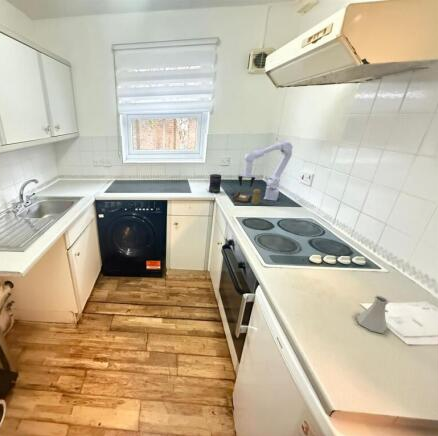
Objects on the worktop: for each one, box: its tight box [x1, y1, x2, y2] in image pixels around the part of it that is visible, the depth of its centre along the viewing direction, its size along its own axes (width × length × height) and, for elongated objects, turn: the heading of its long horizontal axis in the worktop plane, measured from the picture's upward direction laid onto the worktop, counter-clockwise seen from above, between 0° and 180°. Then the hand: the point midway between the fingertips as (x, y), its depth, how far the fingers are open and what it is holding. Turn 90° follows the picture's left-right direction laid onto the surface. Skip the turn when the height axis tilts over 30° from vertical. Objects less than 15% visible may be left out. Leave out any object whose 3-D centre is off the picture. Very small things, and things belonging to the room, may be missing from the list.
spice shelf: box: [232, 190, 252, 204], centre depth 192 cm, size 10×18×4 cm, turn 148°
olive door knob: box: [250, 188, 262, 205], centre depth 180 cm, size 6×6×11 cm
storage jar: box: [208, 173, 222, 194], centre depth 211 cm, size 10×10×15 cm
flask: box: [356, 294, 390, 334], centre depth 73 cm, size 7×7×10 cm
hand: (245, 186), depth 189 cm, fingers open, 7 cm apart
